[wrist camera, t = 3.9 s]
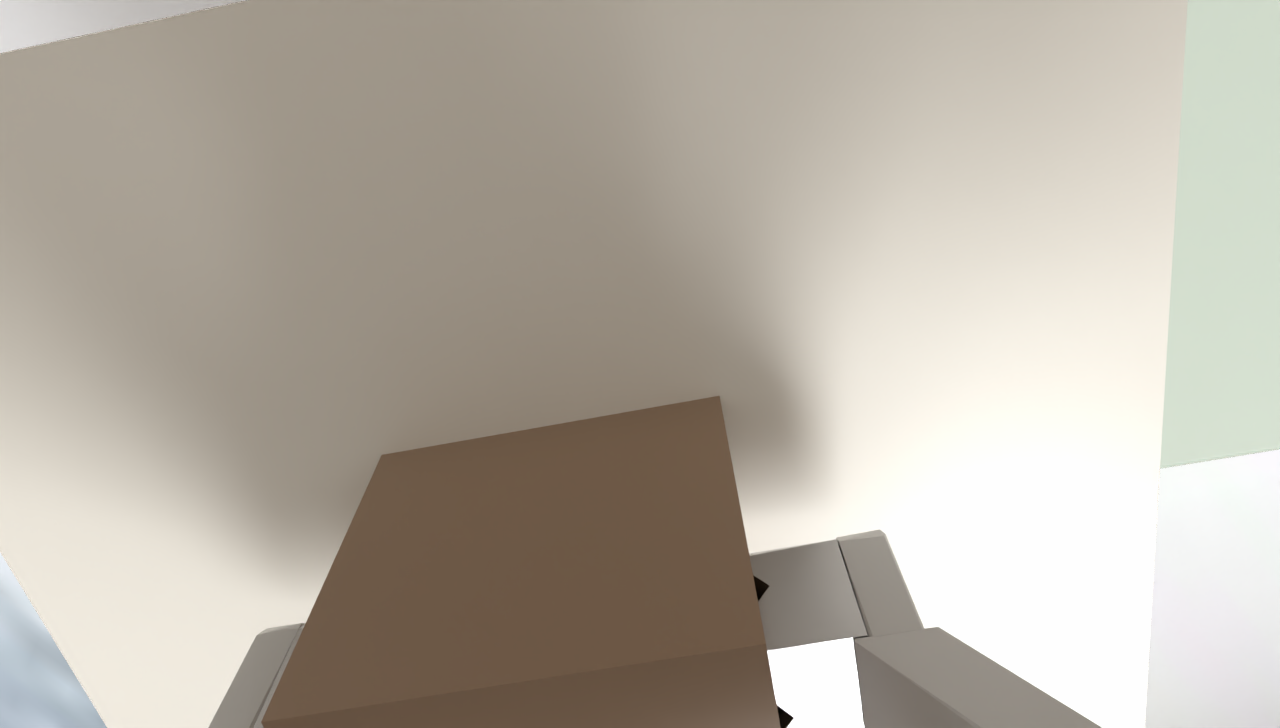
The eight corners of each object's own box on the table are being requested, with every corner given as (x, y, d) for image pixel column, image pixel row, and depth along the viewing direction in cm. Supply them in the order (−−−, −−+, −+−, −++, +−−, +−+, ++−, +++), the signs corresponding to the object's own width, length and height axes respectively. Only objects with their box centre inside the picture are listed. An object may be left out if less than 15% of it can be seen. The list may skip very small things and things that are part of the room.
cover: (1142, -192, 9) (1651, -292, 5) (1107, 797, 15) (1310, 1175, 11) (-189, 93, 10) (-848, 244, 6) (277, 913, 16) (141, 1303, 12)
